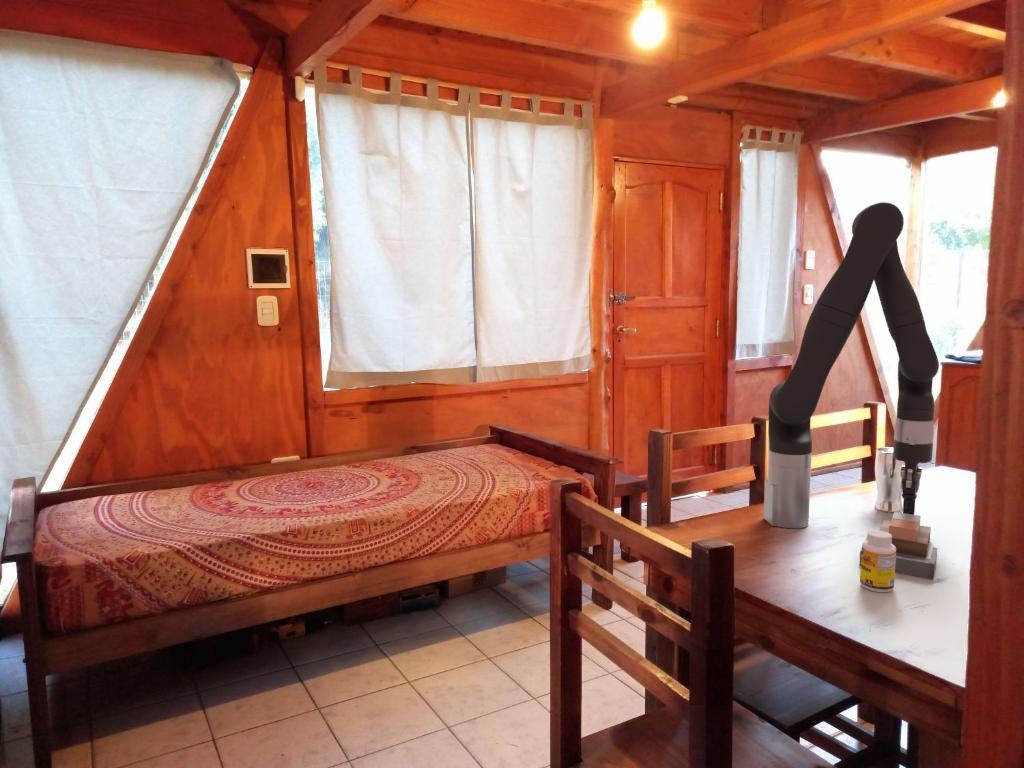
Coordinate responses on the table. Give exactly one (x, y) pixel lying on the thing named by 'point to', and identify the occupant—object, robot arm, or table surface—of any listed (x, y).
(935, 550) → the charcoal tray
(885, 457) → the beer glass
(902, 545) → the walnut board
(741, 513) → the table surface
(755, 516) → the table surface
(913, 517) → the grey tile
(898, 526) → the terracotta tile
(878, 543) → the supplement bottle
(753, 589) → the table surface
